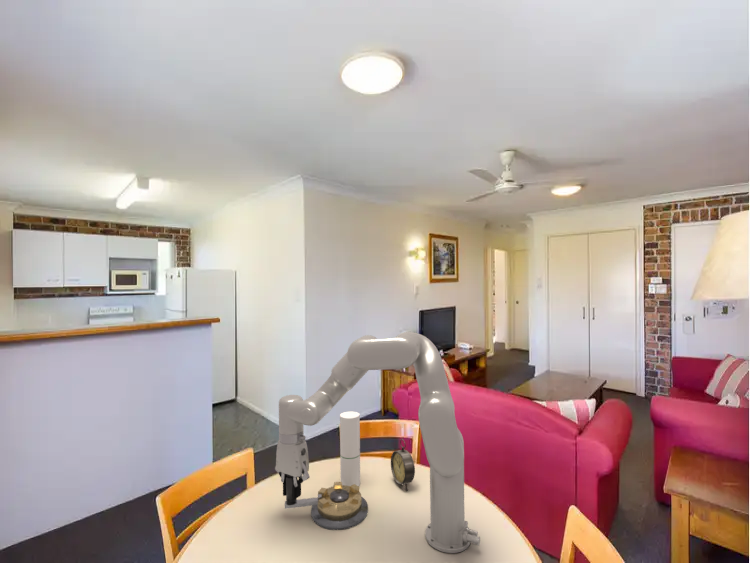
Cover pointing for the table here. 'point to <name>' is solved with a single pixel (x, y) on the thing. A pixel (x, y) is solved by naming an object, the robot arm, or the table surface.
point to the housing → (339, 523)
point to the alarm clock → (402, 466)
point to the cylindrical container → (350, 448)
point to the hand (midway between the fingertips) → (292, 494)
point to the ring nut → (329, 500)
